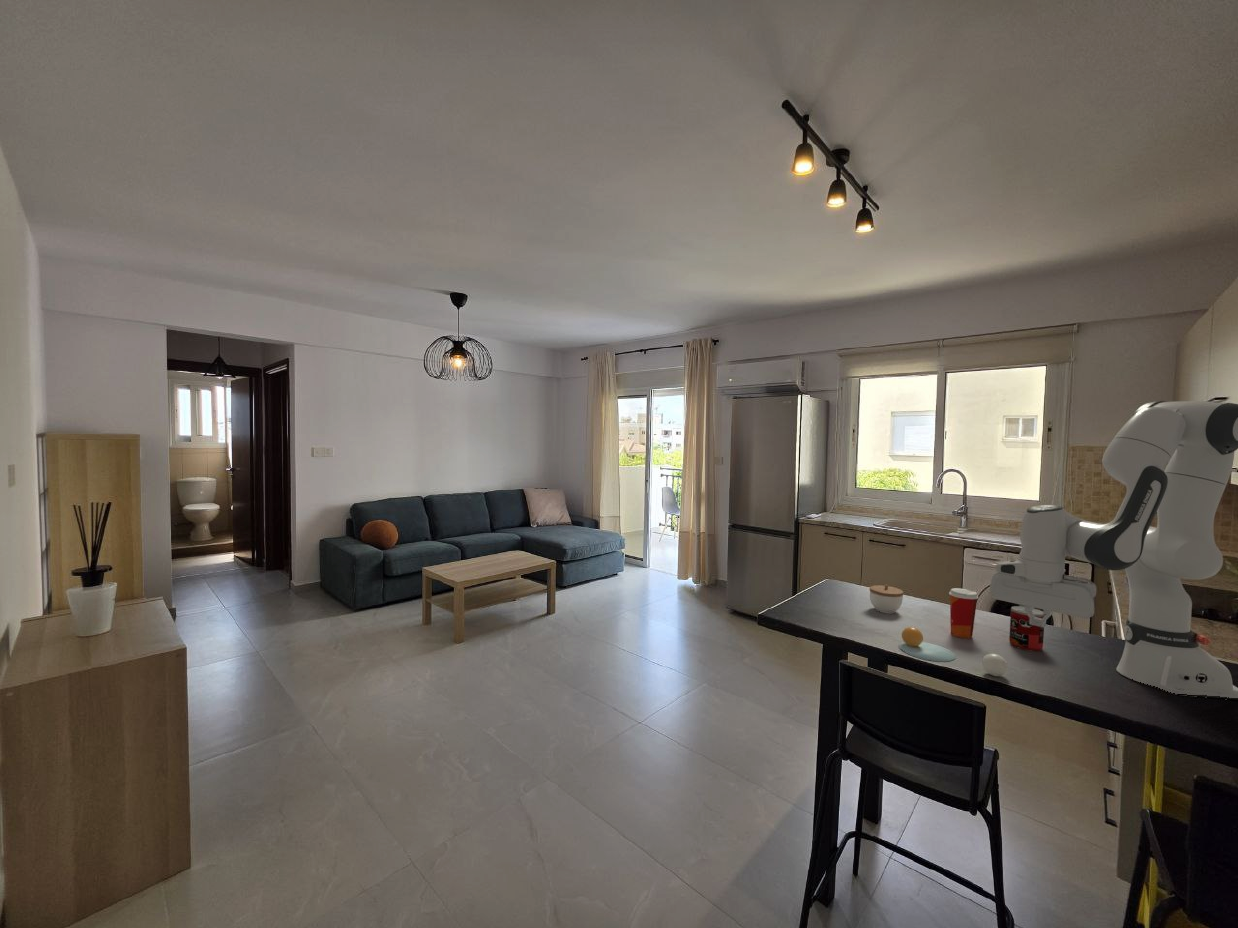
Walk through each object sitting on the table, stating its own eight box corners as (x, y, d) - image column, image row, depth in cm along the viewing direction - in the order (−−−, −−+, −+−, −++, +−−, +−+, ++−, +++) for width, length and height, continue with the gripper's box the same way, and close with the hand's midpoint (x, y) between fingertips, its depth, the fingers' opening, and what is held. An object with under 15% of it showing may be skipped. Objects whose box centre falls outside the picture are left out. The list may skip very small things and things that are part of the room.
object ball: (916, 643, 156) (925, 629, 154) (918, 653, 151) (927, 639, 149) (897, 634, 157) (906, 620, 155) (898, 644, 153) (907, 630, 151)
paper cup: (958, 629, 168) (961, 586, 167) (982, 638, 160) (984, 593, 160) (940, 631, 165) (942, 588, 164) (963, 641, 158) (965, 595, 157)
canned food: (1002, 640, 159) (1004, 605, 158) (1029, 641, 158) (1031, 606, 158) (1021, 651, 151) (1023, 613, 151) (1049, 651, 151) (1051, 614, 150)
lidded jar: (879, 604, 193) (880, 579, 192) (908, 612, 184) (909, 586, 183) (862, 608, 187) (863, 583, 186) (891, 617, 178) (892, 590, 177)
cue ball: (994, 646, 136) (991, 660, 139) (978, 653, 135) (975, 668, 138) (1015, 660, 132) (1011, 675, 134) (998, 668, 130) (995, 684, 133)
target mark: (949, 646, 153) (949, 645, 153) (960, 665, 140) (960, 664, 140) (896, 638, 159) (896, 638, 159) (902, 656, 146) (902, 655, 146)
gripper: (1100, 578, 122) (1096, 635, 123) (997, 560, 138) (994, 611, 139) (1093, 582, 118) (1089, 641, 119) (988, 563, 134) (985, 616, 135)
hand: (1037, 625), depth 129 cm, fingers closed
